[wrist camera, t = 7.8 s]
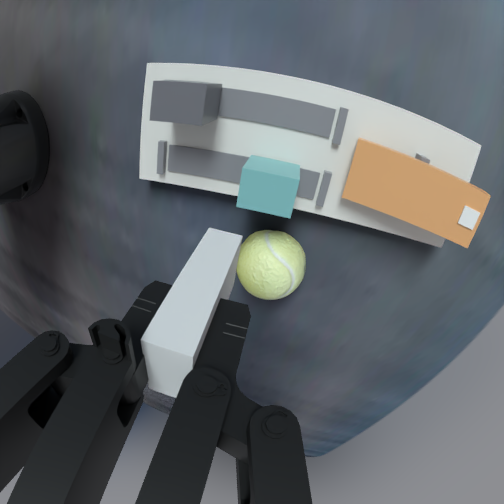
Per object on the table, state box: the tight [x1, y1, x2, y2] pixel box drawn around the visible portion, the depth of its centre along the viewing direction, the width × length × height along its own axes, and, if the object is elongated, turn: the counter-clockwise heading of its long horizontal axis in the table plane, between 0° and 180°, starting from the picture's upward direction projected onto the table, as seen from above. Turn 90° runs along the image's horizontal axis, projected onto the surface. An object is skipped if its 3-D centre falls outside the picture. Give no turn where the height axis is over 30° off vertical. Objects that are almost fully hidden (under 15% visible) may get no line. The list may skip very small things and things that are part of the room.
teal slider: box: [236, 155, 300, 218], centre depth 22 cm, size 4×3×4 cm
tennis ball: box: [236, 230, 306, 300], centre depth 28 cm, size 6×7×7 cm
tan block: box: [342, 137, 491, 248], centre depth 20 cm, size 12×5×1 cm, turn 79°
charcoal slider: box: [150, 80, 222, 126], centre depth 19 cm, size 4×3×4 cm
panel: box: [140, 63, 481, 248], centre depth 23 cm, size 30×11×3 cm, turn 80°
